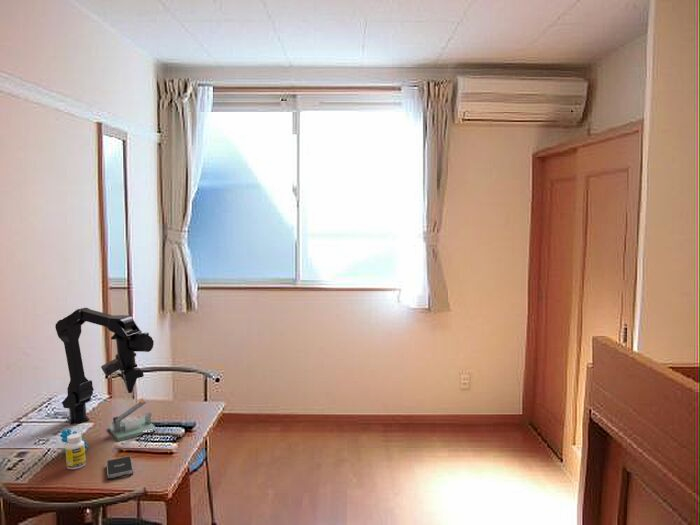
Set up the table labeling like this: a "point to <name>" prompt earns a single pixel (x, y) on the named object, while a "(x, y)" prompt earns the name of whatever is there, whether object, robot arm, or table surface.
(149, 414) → the post
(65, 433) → the gear
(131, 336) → the robot arm
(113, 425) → the post
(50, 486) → the table surface
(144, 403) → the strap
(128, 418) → the heatsink
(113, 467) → the external hard drive
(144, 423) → the board
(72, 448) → the supplement bottle
